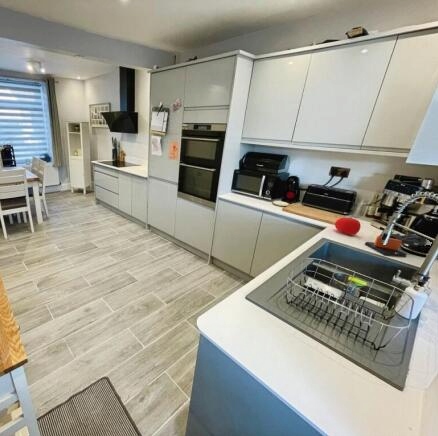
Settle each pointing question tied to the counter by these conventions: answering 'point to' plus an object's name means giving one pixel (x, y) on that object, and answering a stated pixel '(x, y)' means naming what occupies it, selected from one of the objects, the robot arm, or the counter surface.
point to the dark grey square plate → (386, 250)
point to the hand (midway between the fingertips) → (380, 237)
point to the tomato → (348, 225)
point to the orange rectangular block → (390, 245)
